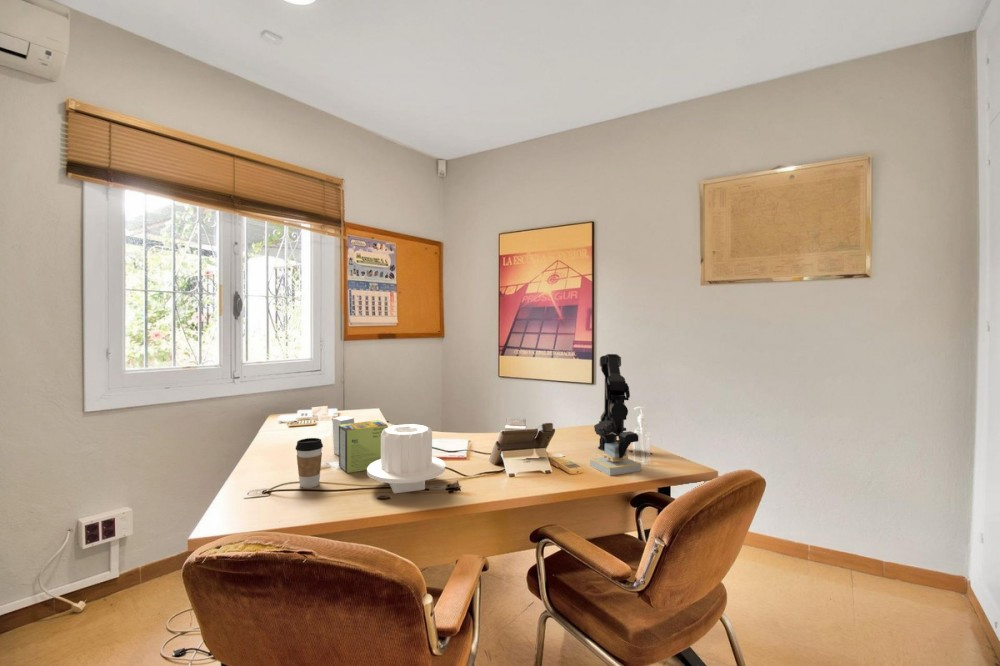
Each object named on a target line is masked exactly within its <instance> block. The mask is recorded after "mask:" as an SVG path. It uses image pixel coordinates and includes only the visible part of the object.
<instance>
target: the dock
mask: <svg viewBox="0 0 1000 666" xmlns="http://www.w3.org/2000/svg"><path fill="white" fill-rule="evenodd" d="M589 466H590V467H592V468H594V469H596V470H597V471H600V472H601V473H603V474H606V475H607V476H609V477H611V476H617V475H622V474H630V473H636V472H641V471H642V462H638V461H635V460H633V459H631V458H628V459H627V460H621V461H614V462H612V461H611V460H608V459H606V458H603V457H597V458H589Z"/></svg>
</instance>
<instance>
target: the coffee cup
mask: <svg viewBox="0 0 1000 666" xmlns="http://www.w3.org/2000/svg"><path fill="white" fill-rule="evenodd" d="M323 447H324V444H323V441H322V439H321V438H318V437H309V438H308V437H307V438H302V439H300V440H297V442H296V445H295V450H296V462H297V463H296V464H297V471H298V472H297V473H298V480H299V486H300V488H302V487H303V489H308V488H309V489H310V488H315V487H317V486H319V485H320V481H321V479H320V477H321V476H320V475H321V467H322V457H323V453H322V449H323Z"/></svg>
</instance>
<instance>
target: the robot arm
mask: <svg viewBox="0 0 1000 666" xmlns="http://www.w3.org/2000/svg"><path fill="white" fill-rule="evenodd" d="M599 367H600V371H601V372H602V374H603V376H604V399H603V400H604V402H603V403H604V404H603V405H604V407H603V409H604V410H603V413H602V414H601V416H600V418H599V419H600V420H599V421H598V423H597V424H595V425H594V427H593V428H594V432H595V435H598V437H600V438H599V446H597V448H598V449H599V450H601V451H605V443H613V442H617V443H618V445H619V458H622V457H623V456H624V454H625V452H626V453H627V450H628V448H629V446H630V445H631V443H635V442H636V443H637V442H639V434H638V433H636V432H634V431H631V430H630V431H627V427H625V421H627V416H628V414H629V410H628V407H627V406H626V404H625V401H629V400H630V399H629V398H630V397H631V394H630V386H629V384H628V383H627V382H626V379H625V377H624V376H623V375H622V374H621V369H620V368H621V367H622V357H621V356H620V355H619V354H617V353H607V354H605V355H602V356H600V357H599Z"/></svg>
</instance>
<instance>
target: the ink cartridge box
mask: <svg viewBox="0 0 1000 666" xmlns="http://www.w3.org/2000/svg"><path fill="white" fill-rule="evenodd" d="M505 420H506V424H505V426H504V432H505V431H509V430H523V429H526V430H527V419H526V418H523V417H522V418H520V417H519V418H518V417H506V419H505Z"/></svg>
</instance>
